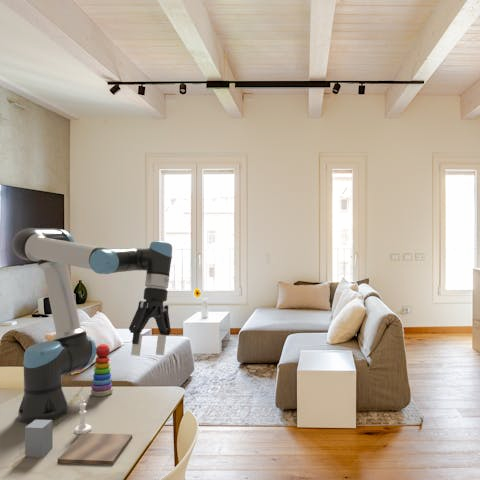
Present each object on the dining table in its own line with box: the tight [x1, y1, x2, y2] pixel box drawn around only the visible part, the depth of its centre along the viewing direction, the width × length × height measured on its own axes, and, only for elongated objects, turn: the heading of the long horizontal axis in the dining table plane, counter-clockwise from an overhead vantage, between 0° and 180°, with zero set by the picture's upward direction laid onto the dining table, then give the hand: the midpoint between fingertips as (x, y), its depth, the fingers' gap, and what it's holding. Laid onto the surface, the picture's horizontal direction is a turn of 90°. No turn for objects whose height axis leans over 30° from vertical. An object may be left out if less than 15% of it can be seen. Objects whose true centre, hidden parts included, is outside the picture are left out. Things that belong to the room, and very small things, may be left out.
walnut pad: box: [57, 432, 133, 466], centre depth 118 cm, size 15×15×1 cm
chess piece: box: [73, 397, 92, 435], centre depth 130 cm, size 5×5×10 cm
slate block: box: [24, 420, 54, 458], centre depth 117 cm, size 5×5×8 cm
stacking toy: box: [90, 343, 114, 397], centre depth 162 cm, size 8×8×19 cm
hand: (148, 355), depth 134 cm, fingers open, 13 cm apart
